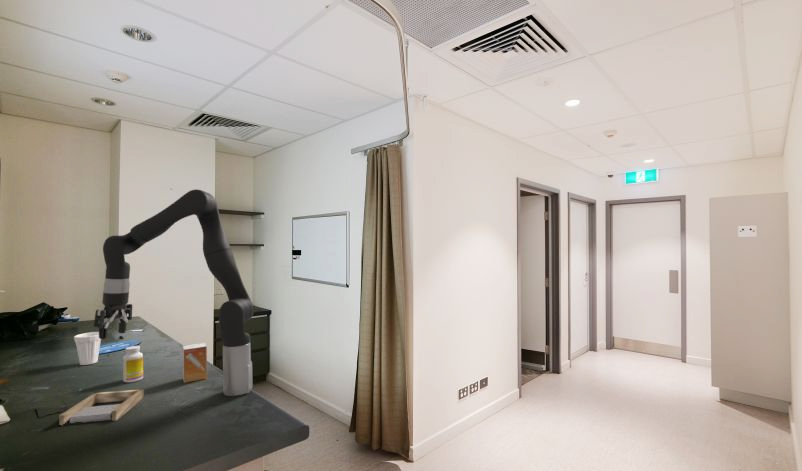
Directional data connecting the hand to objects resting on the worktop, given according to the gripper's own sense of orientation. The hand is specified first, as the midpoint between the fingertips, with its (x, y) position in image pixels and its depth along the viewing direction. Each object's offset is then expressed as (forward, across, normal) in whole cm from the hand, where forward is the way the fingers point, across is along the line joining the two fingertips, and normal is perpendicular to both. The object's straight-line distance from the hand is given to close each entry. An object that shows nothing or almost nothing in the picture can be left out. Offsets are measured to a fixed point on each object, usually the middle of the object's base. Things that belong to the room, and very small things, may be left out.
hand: (112, 335), depth 138 cm
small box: (+19, +15, -23) cm, 34 cm away
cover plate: (+21, -17, -11) cm, 29 cm away
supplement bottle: (+21, +14, +1) cm, 25 cm away
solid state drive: (+23, -12, +8) cm, 27 cm away
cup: (+24, +33, +37) cm, 56 cm away
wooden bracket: (+20, -13, -10) cm, 26 cm away
